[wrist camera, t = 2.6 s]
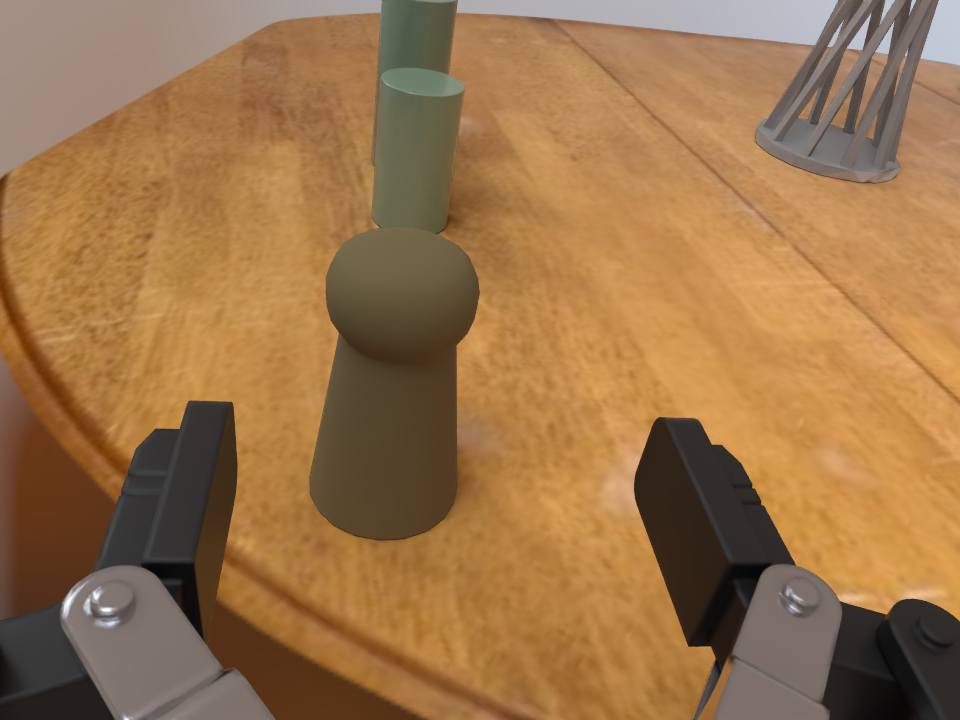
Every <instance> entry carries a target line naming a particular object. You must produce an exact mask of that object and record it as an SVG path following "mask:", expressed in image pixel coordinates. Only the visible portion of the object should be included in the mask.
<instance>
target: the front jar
mask: <svg viewBox="0 0 960 720" xmlns="http://www.w3.org/2000/svg"><path fill="white" fill-rule="evenodd" d="M464 92H465V86H464V84H463V83H462V82H461V81H460V80H458V79H456V78H455V77H452V76H450V75H447V74H445V73H441V72H437V71H433V70H428V69H421V68H396V69H391V70H387V71H385V72H384V73H382V75H381V82H380V96H379V111H378V125H377V140H376V155H375V169H374V184H373V199H372V213H371V215H372V219H373V220H374V222H375V223H376V224H377V225H379V226H380V227H382V228H386V227H409V228H415V229H420V230H425V231H428V232H431V233H434V234H436V233H438V232H440V231H442V230H443V229H444V228H445V227H446V225H447V220H448V212H449V205H450V197H451V190H452V182H453V175H454V167H455V159H456V152H457V144H458V137H459V129H460V122H461V114H462V107H463V99H464Z"/></svg>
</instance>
